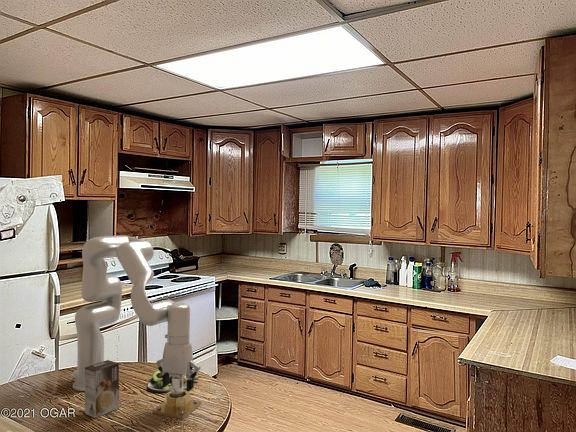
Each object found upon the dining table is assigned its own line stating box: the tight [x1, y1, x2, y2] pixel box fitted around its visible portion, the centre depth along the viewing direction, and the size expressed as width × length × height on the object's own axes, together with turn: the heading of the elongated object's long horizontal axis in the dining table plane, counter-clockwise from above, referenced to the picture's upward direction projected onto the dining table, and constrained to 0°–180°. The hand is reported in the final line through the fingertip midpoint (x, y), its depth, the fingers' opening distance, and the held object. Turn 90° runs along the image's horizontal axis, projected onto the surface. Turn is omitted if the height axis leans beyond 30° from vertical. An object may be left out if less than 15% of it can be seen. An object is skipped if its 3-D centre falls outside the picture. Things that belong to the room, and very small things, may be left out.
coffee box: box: [84, 359, 120, 419], centre depth 150 cm, size 9×6×16 cm
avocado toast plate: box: [146, 369, 200, 394], centre depth 174 cm, size 19×18×5 cm
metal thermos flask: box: [170, 373, 184, 398], centre depth 153 cm, size 4×4×12 cm
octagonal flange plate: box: [152, 389, 202, 420], centre depth 153 cm, size 12×12×5 cm
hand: (177, 387), depth 152 cm, fingers open, 9 cm apart
